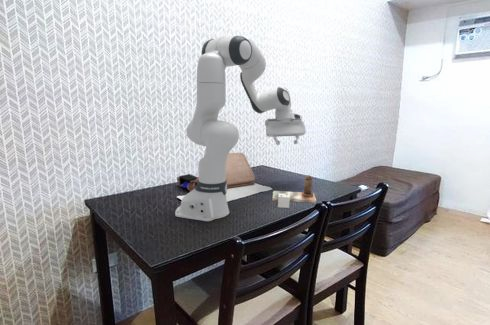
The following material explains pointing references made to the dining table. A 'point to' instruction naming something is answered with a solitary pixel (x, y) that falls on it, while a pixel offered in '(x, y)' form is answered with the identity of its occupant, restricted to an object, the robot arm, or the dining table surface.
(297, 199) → the board
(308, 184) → the pawn
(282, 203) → the die
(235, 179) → the case
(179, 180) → the figurine character
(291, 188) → the dining table surface
